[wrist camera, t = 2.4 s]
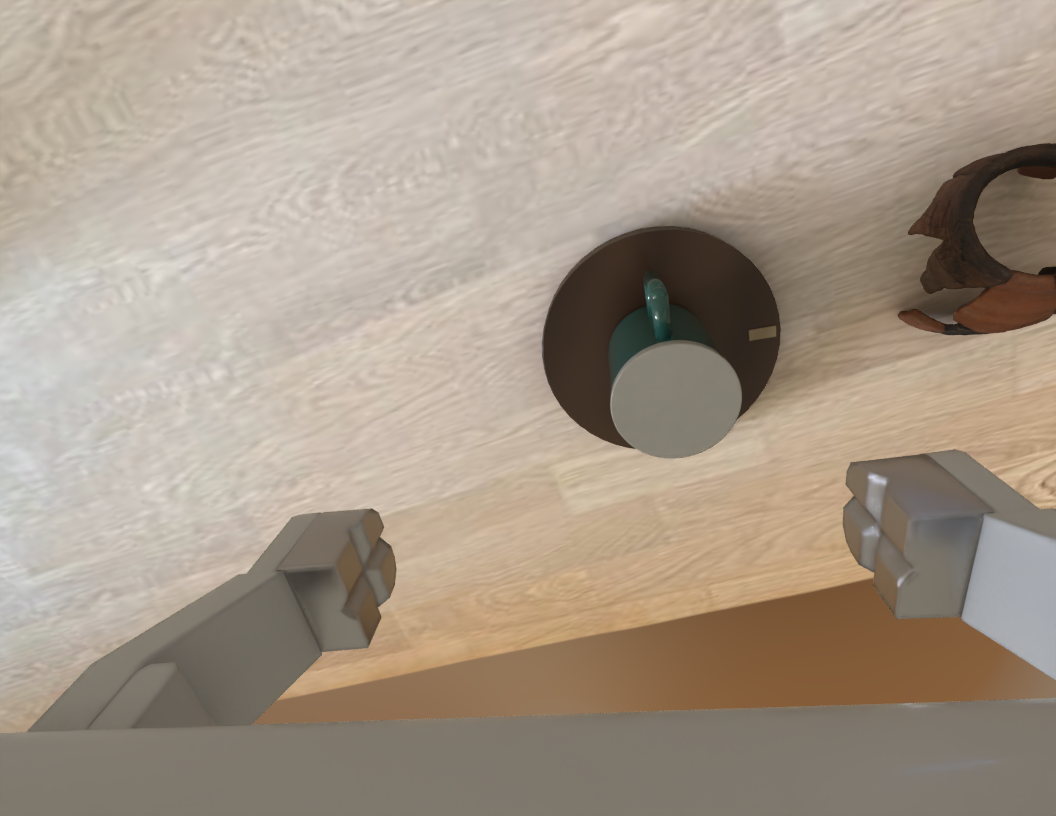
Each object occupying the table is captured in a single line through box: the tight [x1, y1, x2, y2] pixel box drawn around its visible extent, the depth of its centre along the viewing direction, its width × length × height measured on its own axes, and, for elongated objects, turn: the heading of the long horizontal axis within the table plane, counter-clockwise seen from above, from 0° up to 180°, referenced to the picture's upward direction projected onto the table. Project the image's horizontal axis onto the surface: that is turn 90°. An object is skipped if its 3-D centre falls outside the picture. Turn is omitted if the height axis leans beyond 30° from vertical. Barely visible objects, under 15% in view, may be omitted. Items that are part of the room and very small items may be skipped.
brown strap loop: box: [898, 143, 1056, 335], centre depth 29 cm, size 12×10×8 cm
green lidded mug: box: [608, 270, 742, 458], centre depth 30 cm, size 7×9×8 cm
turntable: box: [542, 226, 780, 449], centre depth 35 cm, size 15×15×2 cm
